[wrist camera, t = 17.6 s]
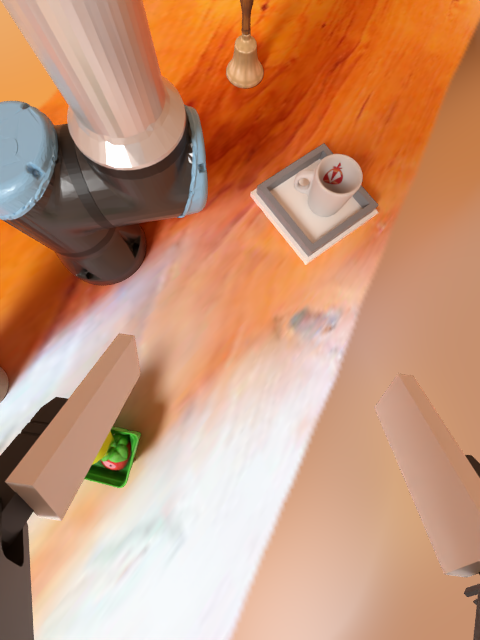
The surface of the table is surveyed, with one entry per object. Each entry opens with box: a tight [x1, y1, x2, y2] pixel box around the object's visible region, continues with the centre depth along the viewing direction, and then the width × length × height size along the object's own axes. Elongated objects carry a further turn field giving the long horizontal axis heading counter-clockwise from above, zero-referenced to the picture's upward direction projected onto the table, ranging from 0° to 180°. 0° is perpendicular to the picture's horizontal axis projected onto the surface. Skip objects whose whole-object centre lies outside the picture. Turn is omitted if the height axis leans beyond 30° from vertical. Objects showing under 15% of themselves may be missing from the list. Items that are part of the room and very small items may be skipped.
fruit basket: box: [84, 426, 141, 488], centre depth 37 cm, size 11×9×11 cm
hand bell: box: [226, 0, 264, 88], centre depth 48 cm, size 8×8×16 cm
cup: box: [294, 154, 363, 217], centre depth 45 cm, size 11×8×8 cm
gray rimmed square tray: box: [250, 144, 378, 265], centre depth 49 cm, size 18×18×3 cm
